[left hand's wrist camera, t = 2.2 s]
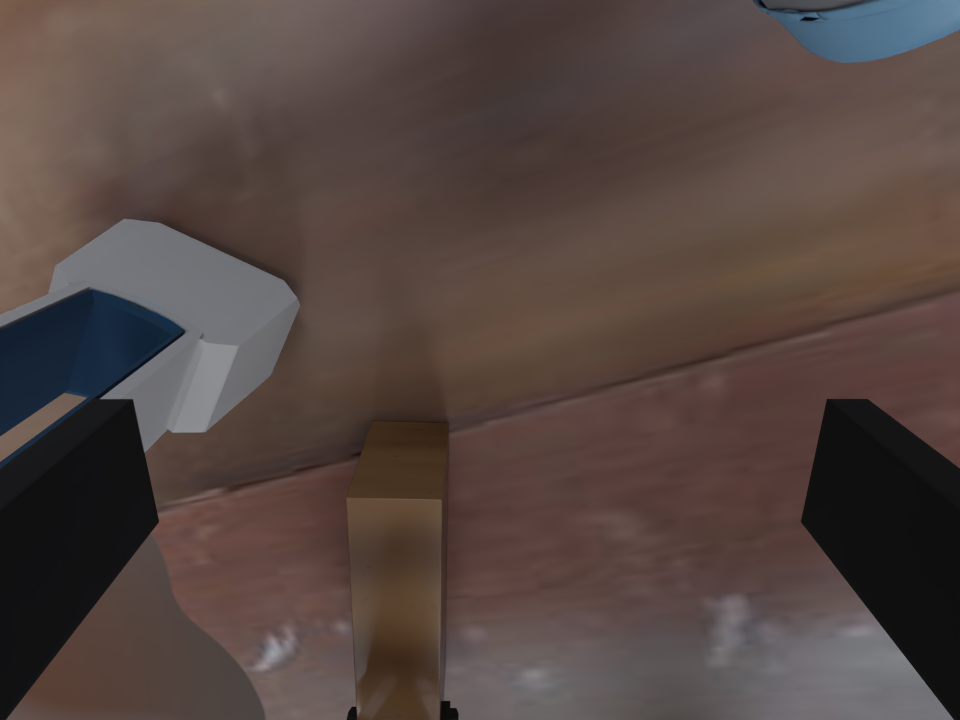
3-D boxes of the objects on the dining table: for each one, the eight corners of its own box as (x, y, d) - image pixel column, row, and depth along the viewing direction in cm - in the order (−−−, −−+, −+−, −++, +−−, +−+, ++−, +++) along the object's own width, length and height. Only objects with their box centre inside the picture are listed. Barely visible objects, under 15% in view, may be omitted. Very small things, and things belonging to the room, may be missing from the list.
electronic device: (114, 301, 48) (-398, 570, 20) (143, 209, 45) (-392, 363, 17) (274, 372, 50) (16, 705, 22) (310, 286, 47) (73, 537, 19)
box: (371, 420, 52) (346, 497, 41) (449, 422, 52) (442, 499, 41) (379, 670, 61) (360, 785, 50) (445, 672, 61) (438, 786, 51)
